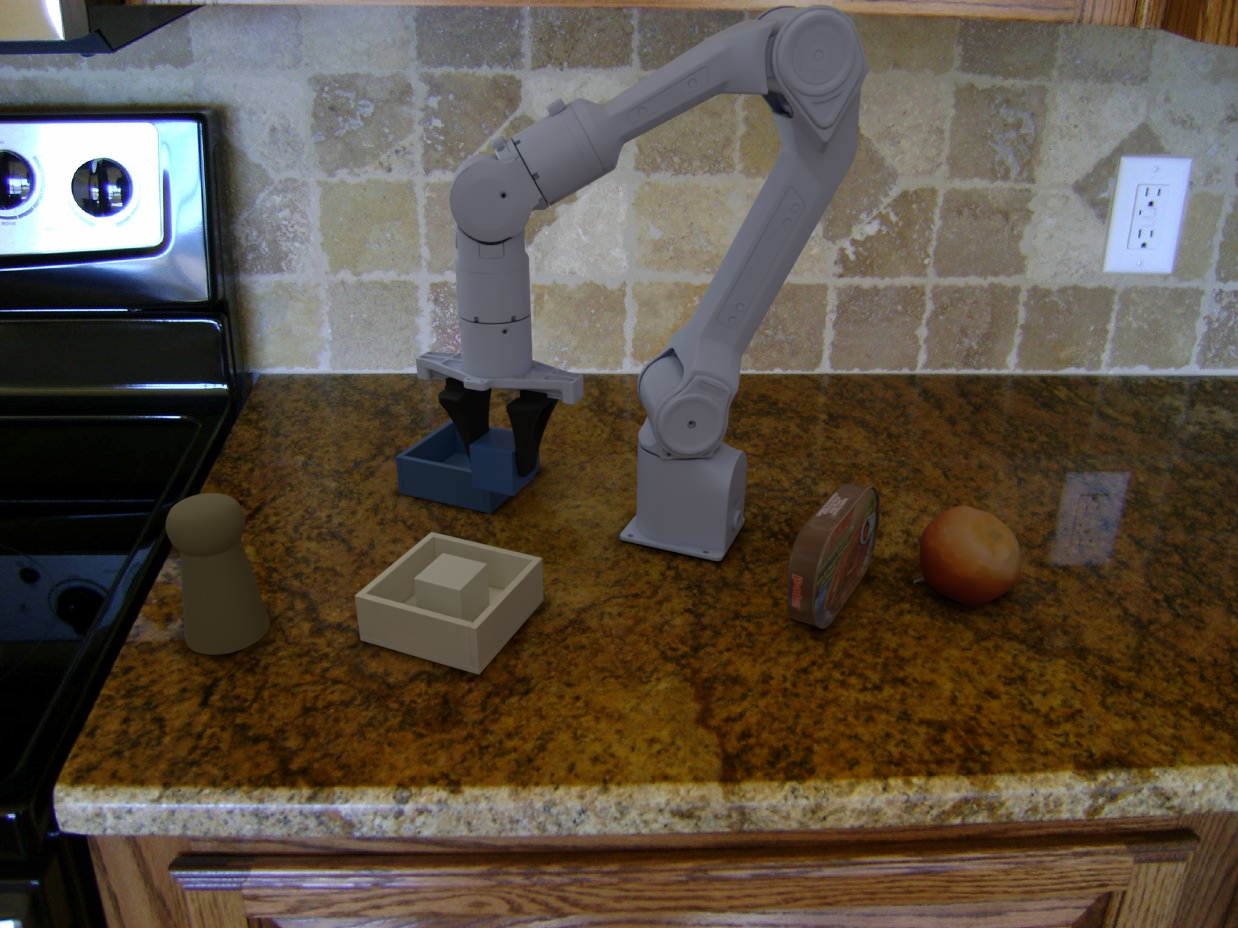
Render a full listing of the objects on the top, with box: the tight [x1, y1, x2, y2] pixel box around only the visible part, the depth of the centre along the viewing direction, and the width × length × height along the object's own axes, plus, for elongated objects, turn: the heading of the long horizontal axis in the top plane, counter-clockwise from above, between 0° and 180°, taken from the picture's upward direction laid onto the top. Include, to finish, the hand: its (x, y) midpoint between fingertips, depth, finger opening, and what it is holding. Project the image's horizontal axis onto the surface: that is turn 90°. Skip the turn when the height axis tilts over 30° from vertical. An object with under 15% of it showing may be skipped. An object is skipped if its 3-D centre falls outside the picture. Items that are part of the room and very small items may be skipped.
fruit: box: [913, 504, 1022, 607], centre depth 76 cm, size 8×8×8 cm
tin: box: [786, 482, 881, 630], centre depth 74 cm, size 15×3×8 cm, turn 148°
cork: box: [165, 492, 271, 656], centre depth 68 cm, size 6×6×11 cm
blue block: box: [470, 428, 536, 497], centre depth 80 cm, size 4×4×4 cm
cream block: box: [414, 553, 490, 622], centre depth 71 cm, size 4×4×4 cm
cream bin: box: [354, 531, 545, 676], centre depth 71 cm, size 10×10×4 cm
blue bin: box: [395, 418, 541, 515], centre depth 93 cm, size 10×10×4 cm
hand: (502, 467), depth 80 cm, fingers closed on blue block, 4 cm apart
